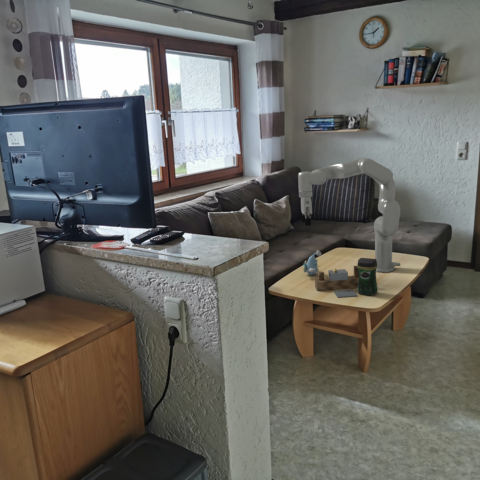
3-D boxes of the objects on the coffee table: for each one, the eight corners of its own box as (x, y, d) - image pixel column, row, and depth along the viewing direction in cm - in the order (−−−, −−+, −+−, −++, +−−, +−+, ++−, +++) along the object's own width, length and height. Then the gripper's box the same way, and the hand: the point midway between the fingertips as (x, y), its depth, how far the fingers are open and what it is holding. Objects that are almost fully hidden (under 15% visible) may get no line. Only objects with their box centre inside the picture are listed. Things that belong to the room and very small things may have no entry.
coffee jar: (379, 292, 251) (379, 257, 247) (374, 296, 245) (374, 261, 240) (360, 289, 256) (360, 255, 252) (355, 294, 250) (355, 259, 246)
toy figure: (321, 279, 277) (320, 253, 273) (302, 279, 279) (301, 254, 276) (322, 270, 293) (321, 246, 289) (304, 270, 295) (303, 246, 291)
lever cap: (345, 276, 264) (344, 267, 263) (347, 279, 258) (347, 270, 257) (328, 277, 263) (328, 268, 262) (331, 280, 258) (330, 271, 256)
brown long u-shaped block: (362, 283, 265) (362, 264, 263) (365, 287, 259) (365, 267, 257) (315, 287, 264) (314, 267, 262) (317, 290, 258) (316, 271, 256)
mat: (352, 290, 256) (352, 289, 255) (357, 296, 247) (357, 295, 247) (333, 291, 255) (333, 290, 255) (337, 297, 247) (337, 296, 246)
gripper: (315, 195, 266) (315, 226, 270) (309, 191, 283) (310, 220, 287) (301, 196, 266) (302, 227, 270) (296, 192, 282) (297, 221, 286)
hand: (306, 223), depth 278 cm, fingers open, 9 cm apart
